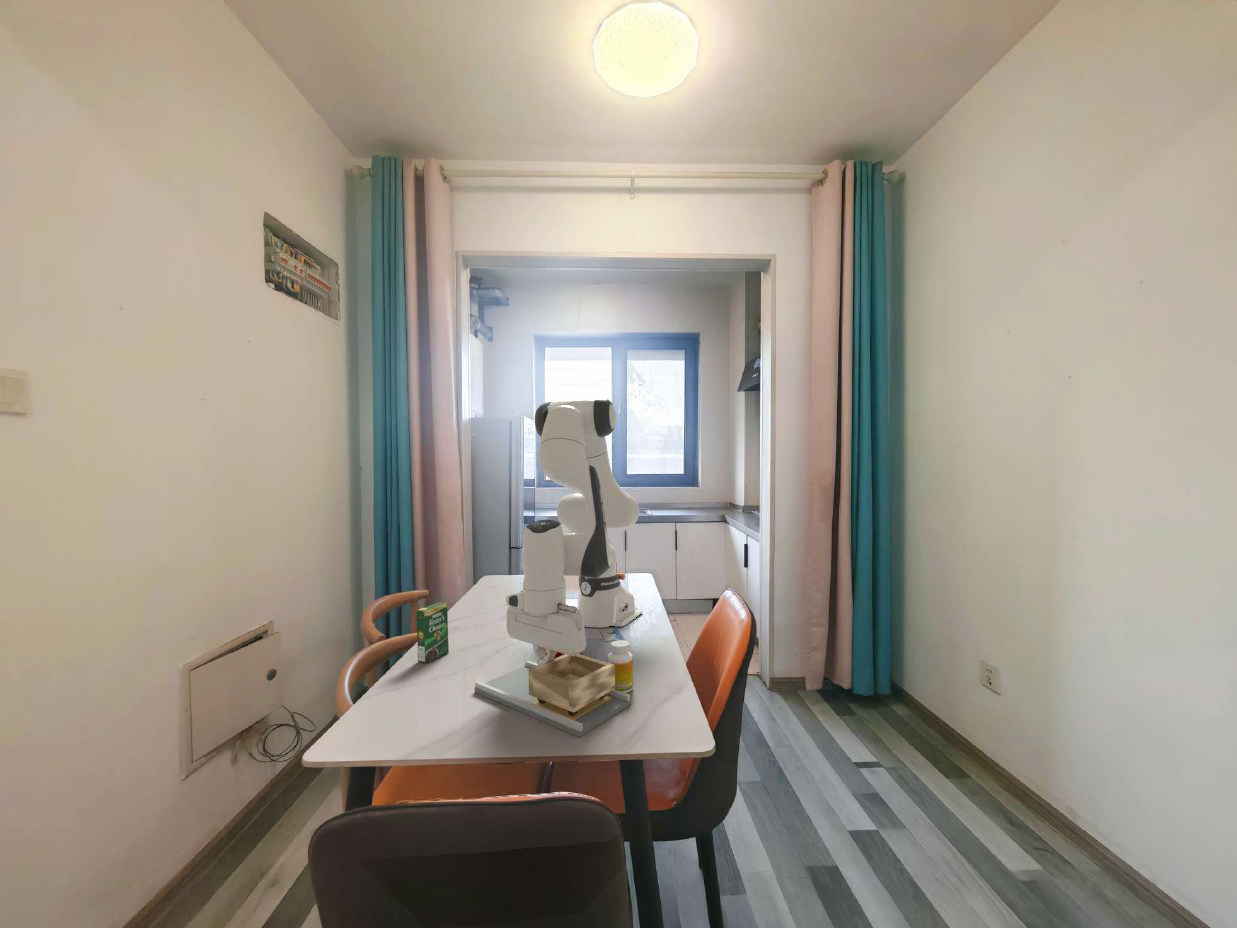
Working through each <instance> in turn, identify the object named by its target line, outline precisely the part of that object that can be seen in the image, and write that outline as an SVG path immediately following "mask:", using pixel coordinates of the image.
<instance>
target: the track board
mask: <svg viewBox="0 0 1237 928" xmlns="http://www.w3.org/2000/svg"><path fill="white" fill-rule="evenodd" d="M537 666H538V663H537V662H535V661H530V660H526V661H525V664H524V666H521V667H519V668H517V669H514V670H511V671H510V672H507V673H505V674H503V675H501V676H498V677H496V678H493V679H491V680H489V681H486V682H481V681H479V680H477V681H475V682H474V693H475V694H476V693H477V694H479V695H481V696H482V697H485V698H487V697H488V699H490V700H492V701H494V702H496V703H497V702H498V703H499V702H500V703H499V704H501V705H504V706H506V707H508V706H509V708H510V709H513V710H515V711H518V712H520V713H523V714H524V715H527V716H528V717H531V718H534V719H536V720H539V721H541V722H543V723H545V724H547V725H550V726H551V727H555V728H557V729H559V730H561V731H564V732H566V733H568V734H570V735H573V736H575V737H576V738H581V737H582V736H584V735H586V734H587V733H589V732H590V731H592V730H593V729H595V728H597V727H598V726H600V725H601V724H602V723H604V722H606V721H607V720H609V719H610V718H612V717H614V716H615V715H617V714H619V713H620V712H622V711H623V710H624V709H626V708H628V707H630V706H631V694H628V693H623V692H620V691H617V690H612V691H610V692H609V693H607V696H606V697H604V698H603V699H599V698H598V699H596V700H595V701H593V702H591V703H590V704H588V705H586V706H584V707H583V708H581V709H579V710H578V713H577V714H575V715H574V716H570V715H569V714H568V712H567V710H566V709H564V708H561V707H559V706H556V705H554V704H551V703H549V702H545V703H543V704H541V703H539V701H538V698H536V697H533V696H531V695H529V670H530V669H532V668H535V667H537Z"/></svg>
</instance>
